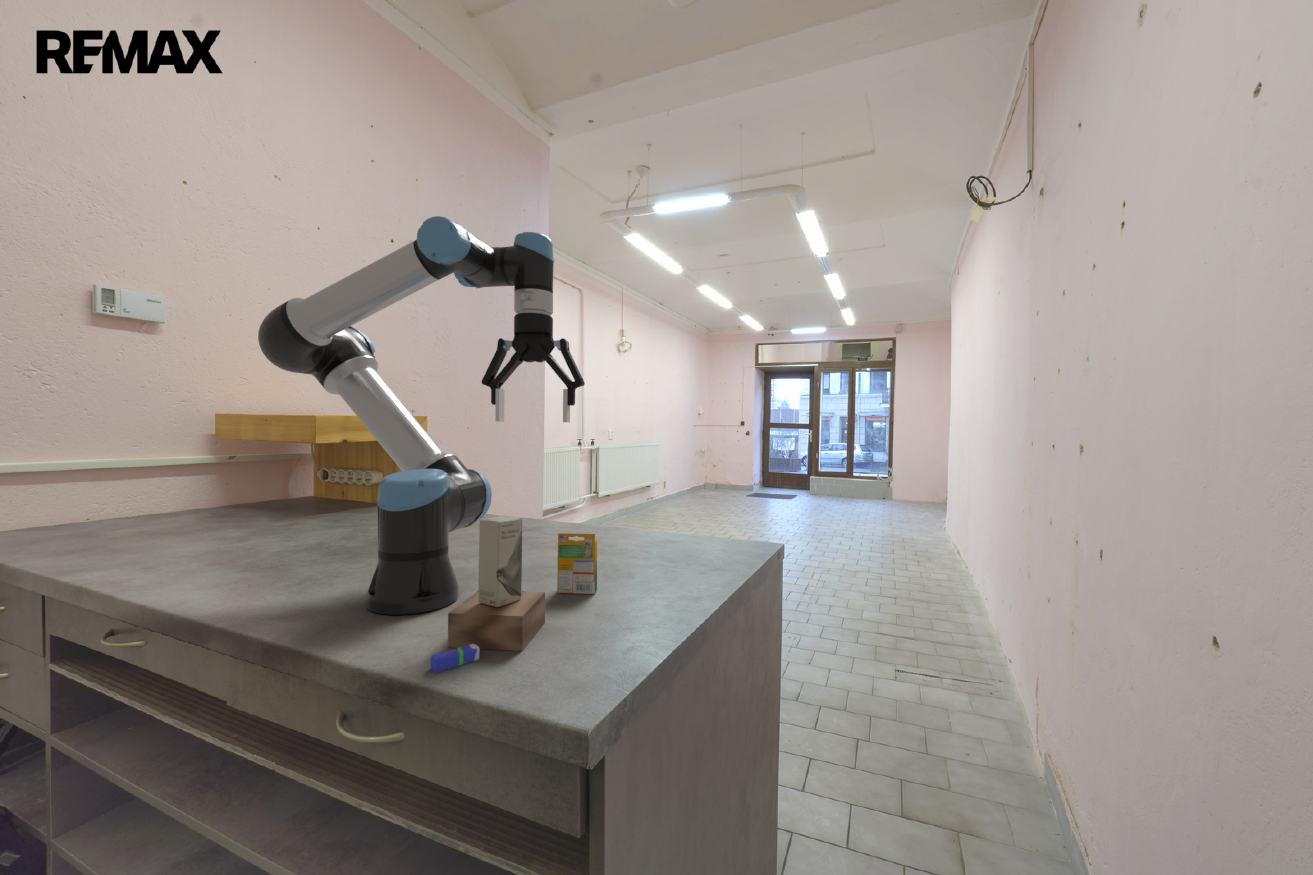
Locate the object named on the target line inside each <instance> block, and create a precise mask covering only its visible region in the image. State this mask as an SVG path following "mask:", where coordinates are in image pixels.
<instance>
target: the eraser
mask: <svg viewBox="0 0 1313 875" xmlns="http://www.w3.org/2000/svg"><path fill="white" fill-rule="evenodd" d="M480 650H481V649H479V647H478V646H477V645H475V644H470V645H466V646H463V647H459V648H452V649H448V650H445V651H442V652H439V653H434V654H432V655H431V656H430V669H431V668H432V669H431V670H432V671H433V672H434V671H435V672H434V673H435V674H437V673H440V671H441V672H444V671H447V670H451V669H453V668H456V667H459V666H463V665H465V664H469V663H471V662H475V661H478V660H480ZM446 669H447V670H446ZM443 670H444V671H443Z"/></svg>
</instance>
